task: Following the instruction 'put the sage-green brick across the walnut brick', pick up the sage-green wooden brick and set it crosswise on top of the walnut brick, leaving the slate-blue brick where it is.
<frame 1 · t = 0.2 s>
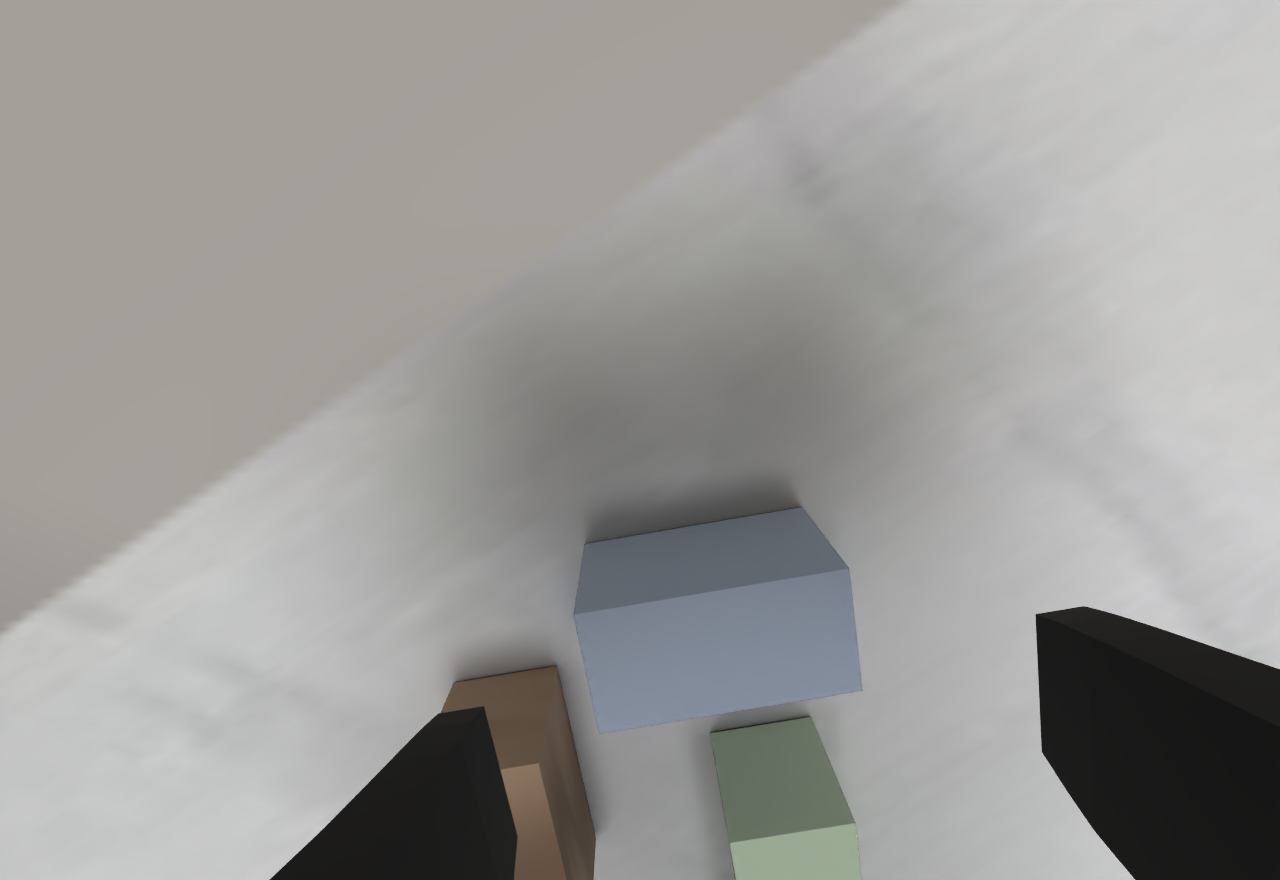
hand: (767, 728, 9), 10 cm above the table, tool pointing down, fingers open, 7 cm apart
slate brick: (701, 575, 19), on the table
walnut brick: (527, 763, 20), on the table
sage brick: (773, 809, 21), on the table
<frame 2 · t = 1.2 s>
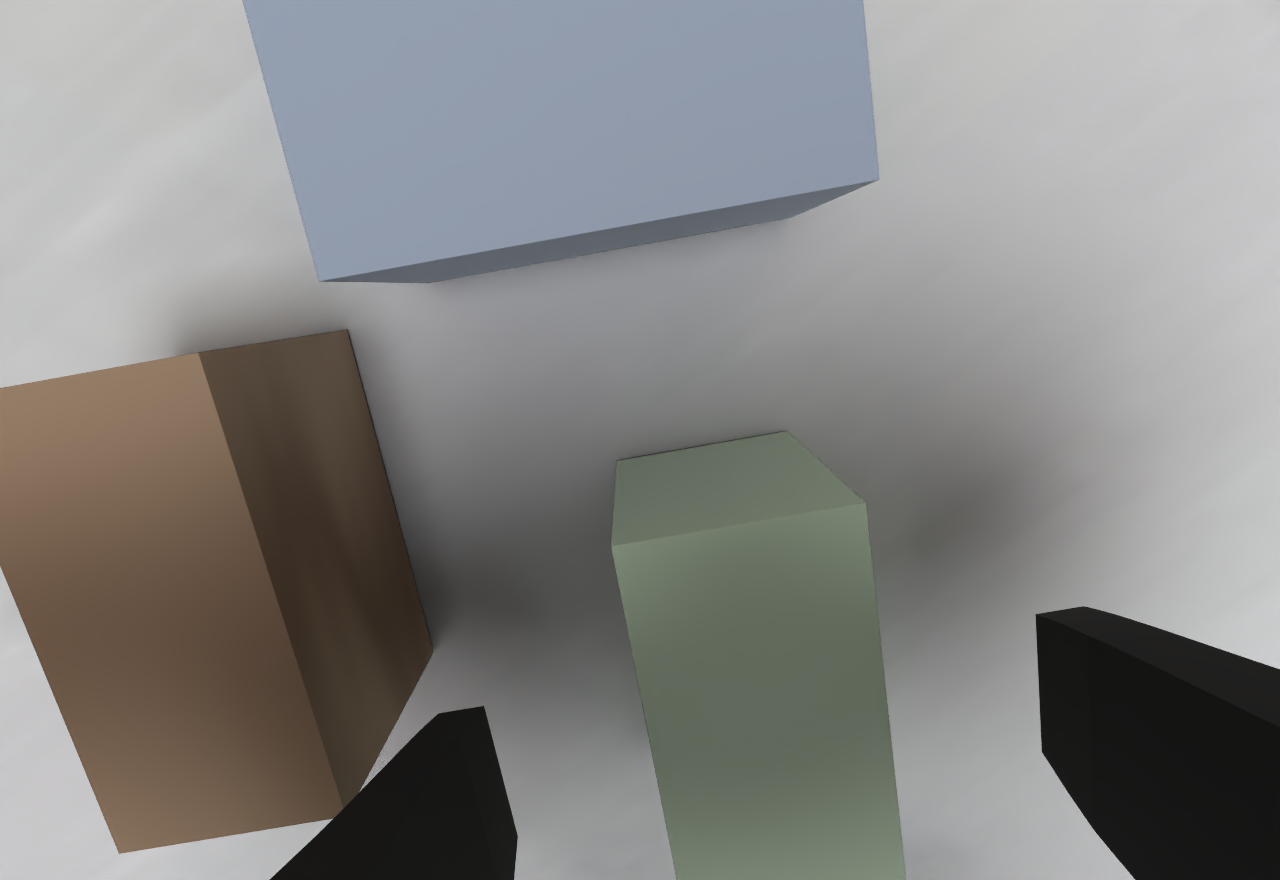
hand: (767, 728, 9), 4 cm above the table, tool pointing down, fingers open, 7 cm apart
slate brick: (590, 153, 11), on the table
walnut brick: (309, 514, 12), on the table
sage brick: (726, 602, 12), on the table
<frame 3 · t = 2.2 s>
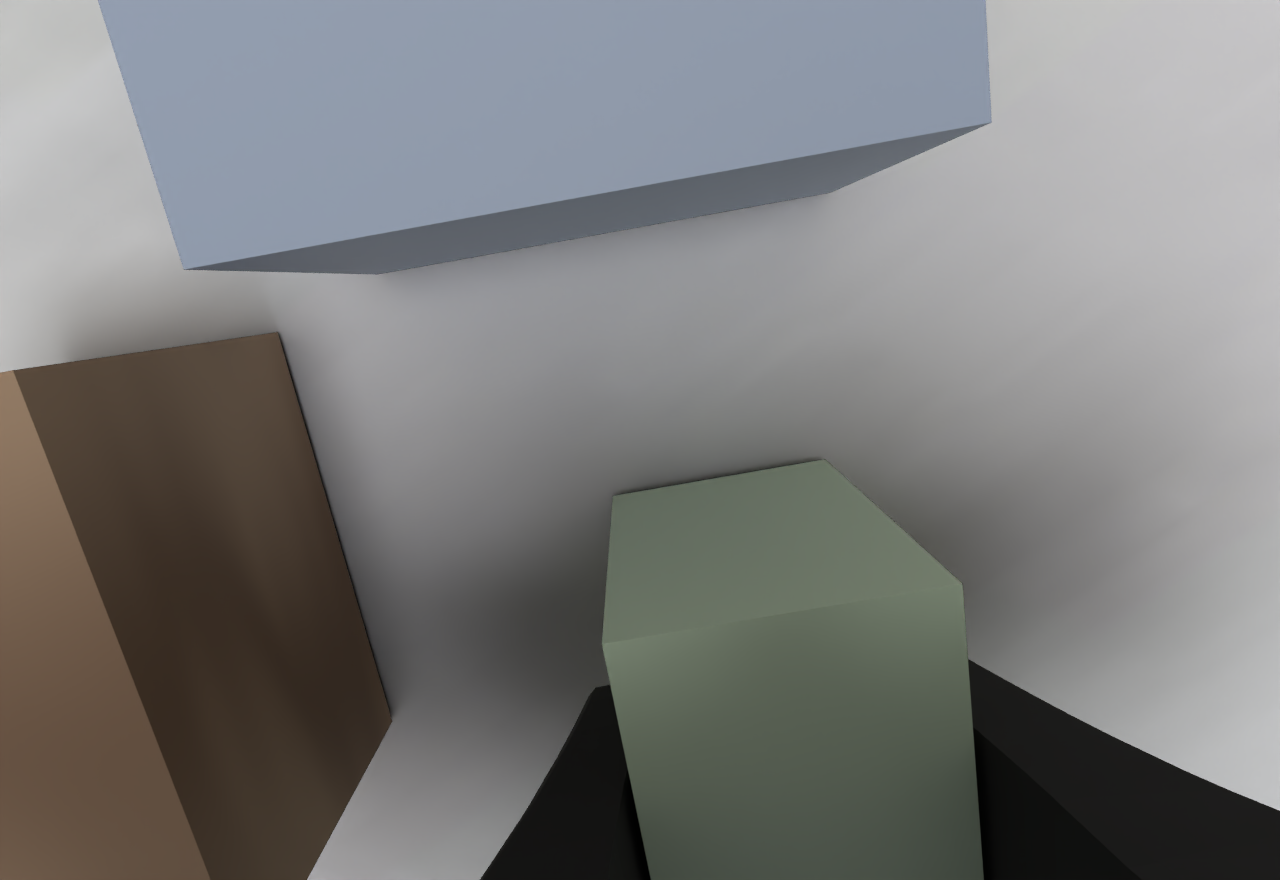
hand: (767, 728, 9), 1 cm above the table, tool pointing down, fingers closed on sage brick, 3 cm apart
slate brick: (580, 110, 9), on the table
walnut brick: (237, 557, 10), on the table
sage brick: (747, 667, 10), on the table, touching gripper
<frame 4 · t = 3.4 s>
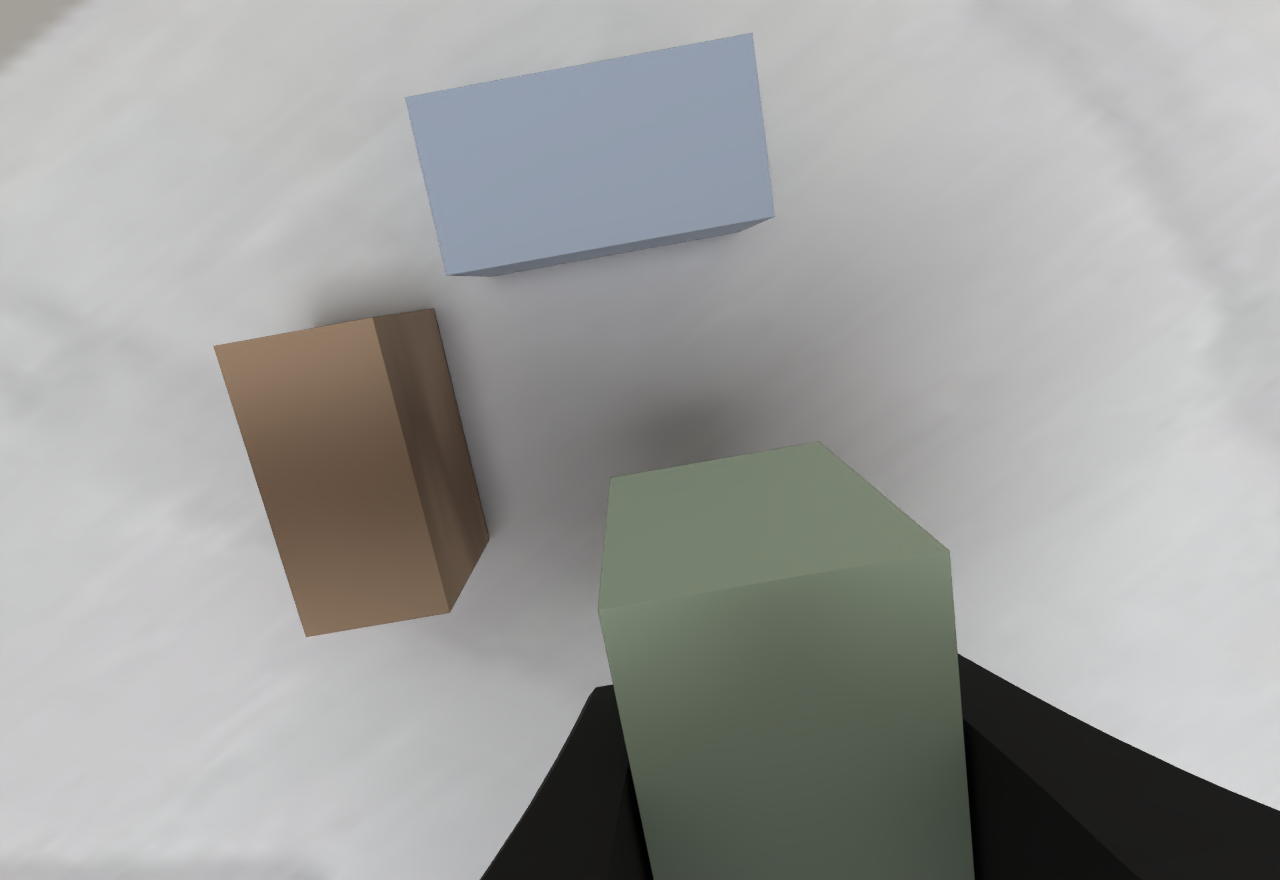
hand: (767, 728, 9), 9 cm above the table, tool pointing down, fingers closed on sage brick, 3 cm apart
slate brick: (602, 188, 16), on the table
walnut brick: (403, 439, 17), on the table
sage brick: (743, 648, 10), point 7 cm above the table, touching gripper
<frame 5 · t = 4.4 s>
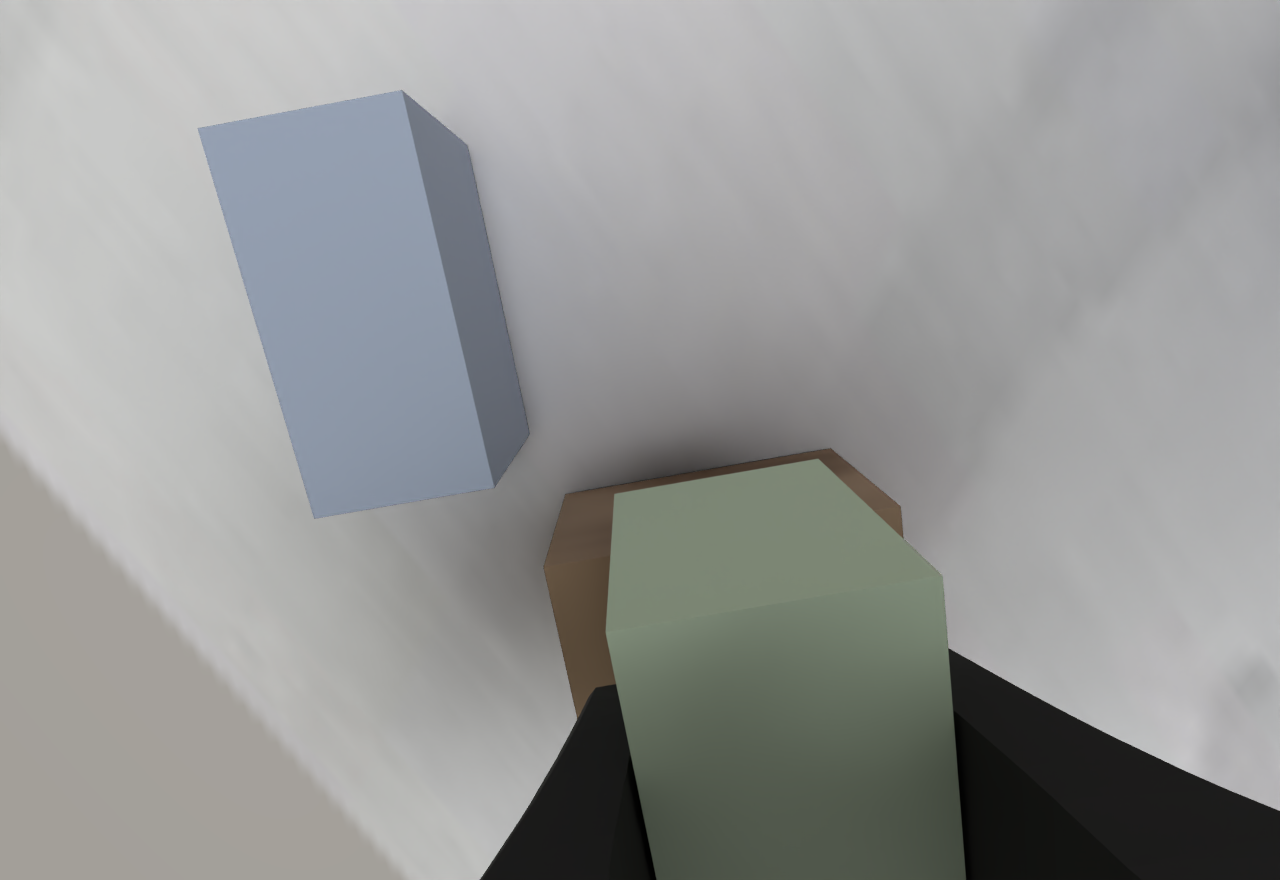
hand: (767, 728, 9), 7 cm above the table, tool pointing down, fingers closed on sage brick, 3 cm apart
slate brick: (429, 308, 14), on the table
walnut brick: (707, 533, 16), on the table
sage brick: (744, 658, 11), point 5 cm above the table, touching gripper
when the fingers open (7 cm above the table, at t = 4.7 s): sage brick stays where it is, resting on walnut brick.
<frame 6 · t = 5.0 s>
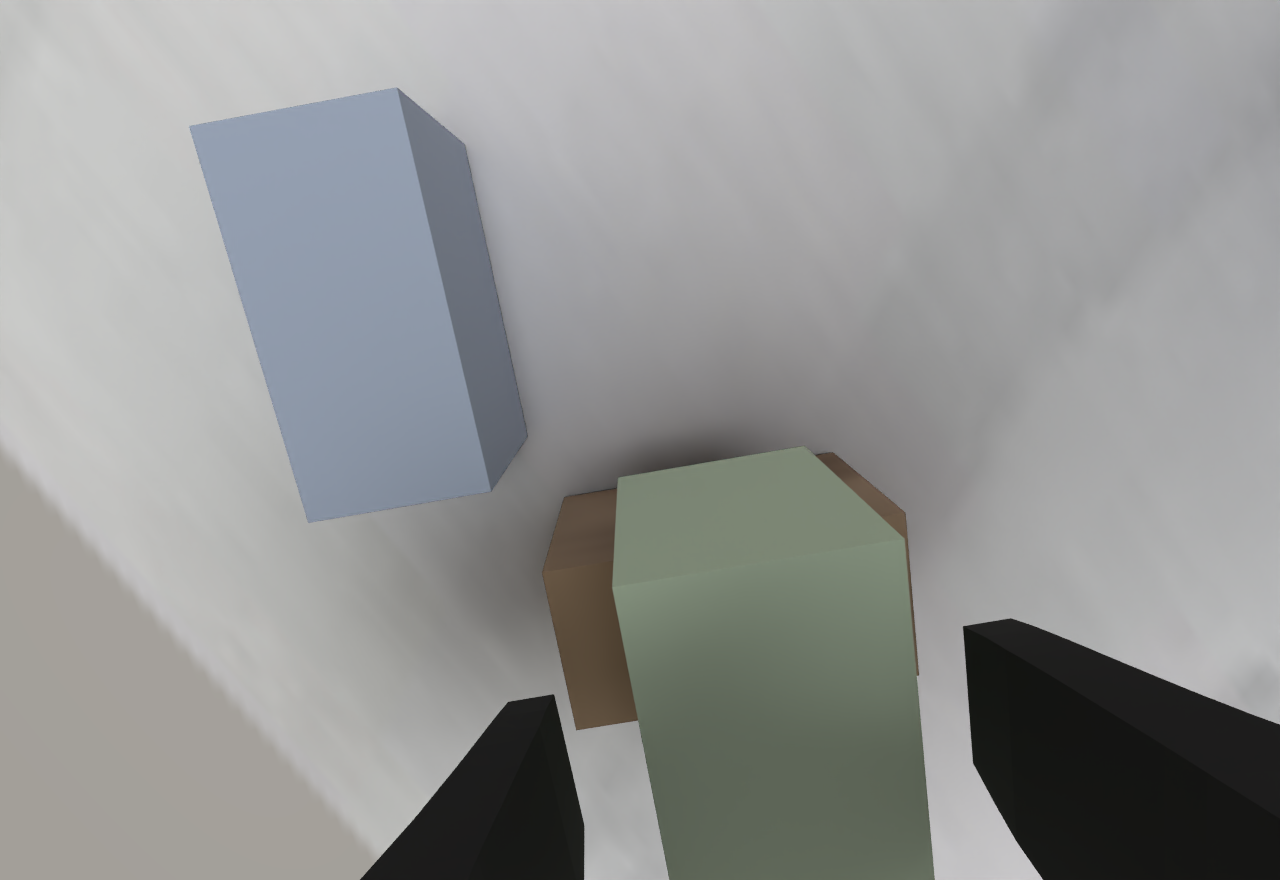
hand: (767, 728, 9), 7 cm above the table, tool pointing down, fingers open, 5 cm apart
slate brick: (426, 309, 14), on the table
walnut brick: (707, 537, 15), on the table, touching sage brick
sage brick: (736, 631, 11), point 4 cm above the table, touching walnut brick
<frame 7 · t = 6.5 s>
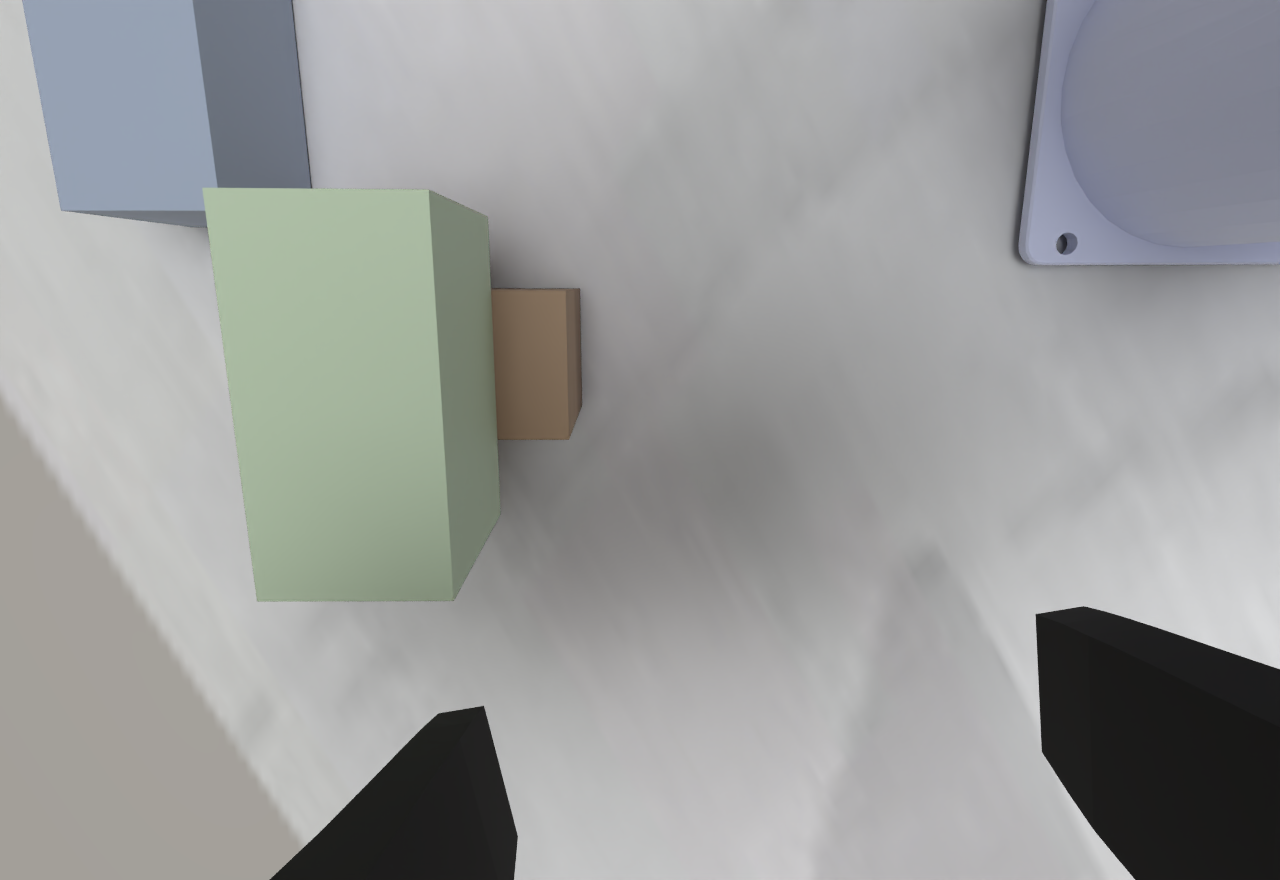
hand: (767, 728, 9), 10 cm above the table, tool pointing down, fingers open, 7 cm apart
slate brick: (237, 94, 16), on the table
walnut brick: (464, 347, 18), on the table, touching sage brick
sage brick: (419, 372, 14), point 4 cm above the table, touching walnut brick
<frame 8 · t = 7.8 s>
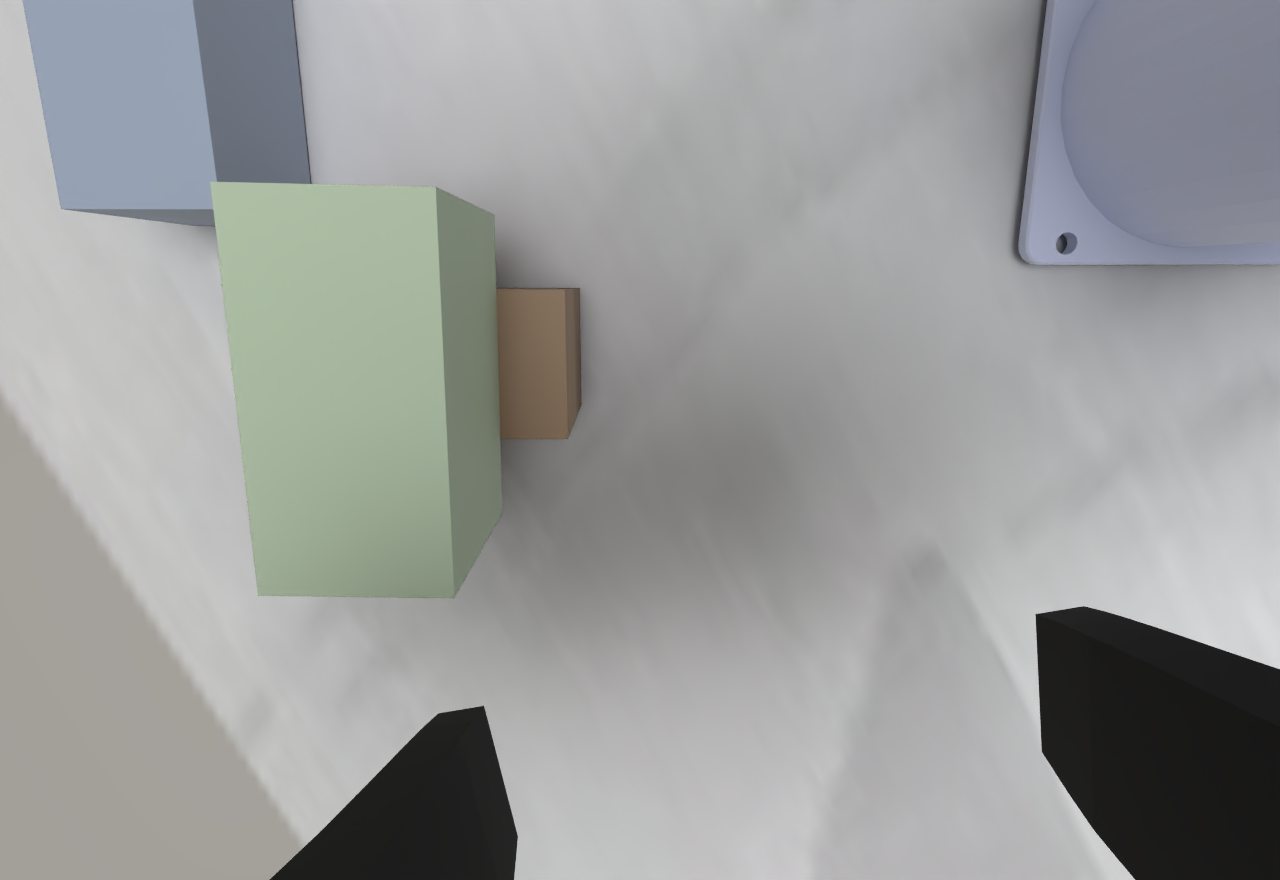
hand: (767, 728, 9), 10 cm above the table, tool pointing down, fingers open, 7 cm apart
slate brick: (237, 93, 16), on the table
walnut brick: (464, 347, 18), on the table, touching sage brick
sage brick: (423, 369, 14), point 4 cm above the table, touching walnut brick
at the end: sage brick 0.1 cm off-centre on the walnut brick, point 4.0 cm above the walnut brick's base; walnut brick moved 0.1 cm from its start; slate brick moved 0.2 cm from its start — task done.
